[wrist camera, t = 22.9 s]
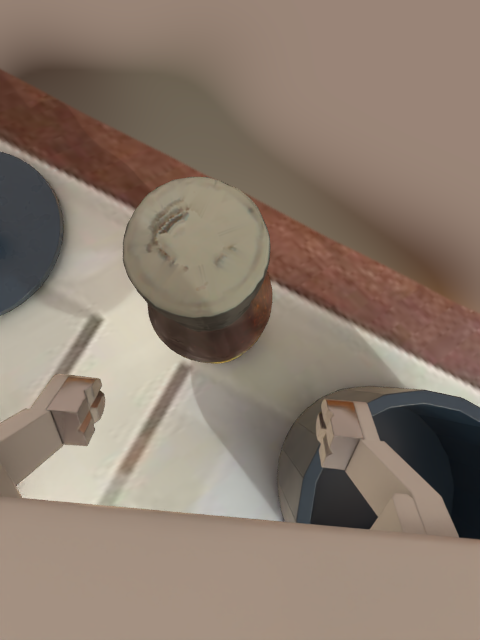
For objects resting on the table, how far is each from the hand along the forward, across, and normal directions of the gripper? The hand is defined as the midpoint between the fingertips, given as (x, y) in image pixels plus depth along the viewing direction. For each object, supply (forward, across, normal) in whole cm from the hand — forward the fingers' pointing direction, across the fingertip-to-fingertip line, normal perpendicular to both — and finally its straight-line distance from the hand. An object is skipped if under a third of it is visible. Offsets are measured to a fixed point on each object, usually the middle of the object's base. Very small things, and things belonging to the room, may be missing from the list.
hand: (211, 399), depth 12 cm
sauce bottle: (+14, +1, +8) cm, 16 cm away
